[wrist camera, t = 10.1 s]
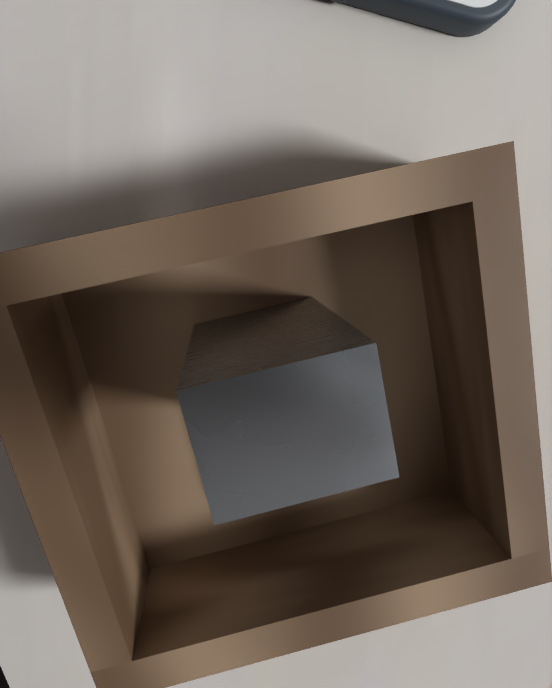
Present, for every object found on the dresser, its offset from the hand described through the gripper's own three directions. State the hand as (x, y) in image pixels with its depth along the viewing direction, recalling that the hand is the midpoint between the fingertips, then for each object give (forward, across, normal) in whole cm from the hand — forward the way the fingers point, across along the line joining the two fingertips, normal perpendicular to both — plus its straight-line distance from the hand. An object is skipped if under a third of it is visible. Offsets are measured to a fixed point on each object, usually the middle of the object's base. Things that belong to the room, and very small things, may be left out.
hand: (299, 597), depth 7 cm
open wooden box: (+11, -1, 0) cm, 11 cm away
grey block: (+10, -1, 0) cm, 10 cm away
